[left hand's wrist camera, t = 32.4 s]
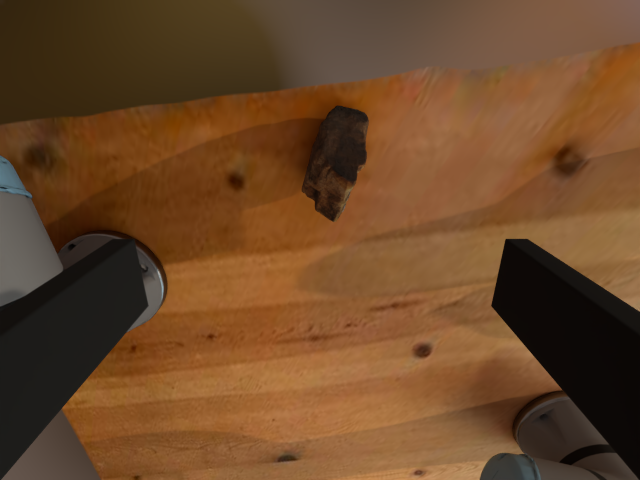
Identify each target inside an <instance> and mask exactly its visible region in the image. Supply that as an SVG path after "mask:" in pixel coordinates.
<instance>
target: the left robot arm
mask: <svg viewBox="0 0 640 480" xmlns="http://www.w3.org/2000/svg"><path fill="white" fill-rule="evenodd" d="M31 198H33V197H32V195H31V194H30V193H29V192H28V191H26V189H25V187H24V186H23V184H22V182H21V180H20V178H19V177H18V175H17V173H16V171H15V169H14V167H13V166H12V164H11V163H10V162H9V161H8V160H7V159H5V158H4V157H2V156H0V480H1V479H2V478H3V477H4V475H5V474H6V473H7V472H8V471H9V470H10V469H11V467H12V466H13V465H14V464H15V463H16V461H17V460H18V459H19V458H20V457H21V456H22V454H23V453H24V452H25V451H26V450H27V448H28V447H29V446H30V445H31V444H32V443H33V441H34V440H35V439H36V438H37V437H38V435H39V434H40V433H41V432H42V431H43V430H44V429H45V427H46V426H47V425H48V424H49V423H50V421H51V420H52V419H53V418H54V417H55V416H56V414H57V413H58V412H59V411H60V410H61V409H62V407H63V406H64V405H65V404H66V403H67V401H68V400H69V399H70V398H71V397H72V396H73V394H74V393H75V392H76V391H77V390H78V389H79V387H80V386H81V385H82V384H83V383H84V381H85V380H86V379H87V378H88V377H89V376H90V374H91V373H92V372H93V371H94V370H95V369H96V367H97V366H98V365H99V364H100V363H101V361H102V360H103V359H104V358H105V357H106V356H107V354H108V353H109V352H110V351H111V350H112V349H113V347H114V346H115V345H116V344H117V343H118V341H119V340H120V339H121V338H122V337H123V336H124V334H125V333H126V332H128V331H130V330H132V329H133V328H135V327H137V326H140V325H142V324H143V323H145V322H147V321H148V320H150V319H151V318H152V317H153V316H154V315H155V314H156V312H157V311H158V310H159V308H160V307H161V306H162V304H163V302H164V300H165V298H166V294H167V279H166V275H165V271H164V269H163V267H162V265H161V263H160V262H159V260H158V259H157V257H156V256H155V255H154V254H153V253H152V252H151V250H149V249H148V248H147V247H146V246H145V245H143V244H142V243H141V242H139V241H138V240H136V239H134V238H132V237H130V236H127V235H125V234H122V233H118V232H113V231H93V232H89V233H86V234H83V235H81V236H79V237H77V238H75V239H74V240H72V241H70V242H69V243H67V244H66V245H65V246H64V247H63V248H62V249H61V250H60V251H59V253H58V254H57V253H56V251H55V249H54V246H53V244H52V242H51V240H50V238H49V236H48V234H47V232H46V229H45V227H44V225H43V223H42V221H41V219H40V217H39V215H38V213H37V210H36V208H35V206H34V204H33V202H32V200H31ZM491 306H492V307H493V309H494V310H495V311H496V312H497V313H498V314H499V316H500V317H501V318H502V319H503V320H504V321H505V323H506V324H507V325H508V326H509V327H510V329H511V330H512V331H513V332H514V333H515V334H516V336H517V337H518V338H519V339H520V340H521V341H522V343H523V344H524V345H525V346H526V347H527V349H528V350H529V351H530V352H531V353H532V354H533V356H534V357H535V358H536V359H537V360H538V361H539V363H540V364H541V365H542V366H543V367H544V369H545V370H546V371H547V372H548V373H549V374H550V376H551V377H552V378H553V379H554V380H555V381H556V383H557V384H558V385H559V386H560V387H561V389H562V390H563V391H564V392H565V393H566V394H567V396H568V397H569V398H570V399H571V400H572V401H573V403H574V404H575V405H576V406H577V407H578V409H579V410H580V411H581V412H582V413H583V414H584V416H585V417H586V418H587V419H588V420H589V421H590V423H591V424H592V425H593V426H594V427H595V429H596V430H597V431H598V432H599V433H600V434H601V436H602V437H603V438H604V439H605V440H606V441H607V443H608V444H609V445H610V446H611V447H612V449H613V450H614V451H615V452H616V453H617V454H618V456H619V457H620V458H621V459H622V460H623V461H624V463H625V464H626V465H627V466H628V467H629V469H630V470H631V471H632V472H633V473H634V474H635V476H636V477H637V478H638V479H639V480H640V312H639V311H638V310H636V309H635V308H633V307H631V306H630V305H628V304H627V303H625V302H624V301H622V300H621V299H619V298H618V297H616V296H614V295H613V294H611V293H610V292H608V291H607V290H605V289H604V288H602V287H601V286H599V285H598V284H596V283H594V282H593V281H591V280H590V279H588V278H587V277H585V276H584V275H582V274H581V273H579V272H578V271H576V270H574V269H573V268H571V267H570V266H568V265H567V264H565V263H564V262H562V261H561V260H559V259H557V258H556V257H554V256H553V255H551V254H550V253H548V252H547V251H545V250H544V249H542V248H541V247H539V246H537V245H536V244H534V243H533V242H531V241H530V240H528V239H506V240H505V245H504V249H503V254H502V259H501V263H500V268H499V273H498V277H497V282H496V287H495V291H494V296H493V301H492V305H491Z"/></svg>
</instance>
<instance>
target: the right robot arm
mask: <svg viewBox="0 0 640 480" xmlns="http://www.w3.org/2000/svg"><path fill="white" fill-rule="evenodd" d="M513 435H514V438H515V440H516V441H517V443H518V445H519V447H520V448H521V450H522V451H523V452H524V453H525V454H519V455H516V454H510V453H500V454H497V455H495V456H493V457H492V458H491V459H490V460H489V461H488V462H487V463H486V465H485V467H484V469H483V471H482V474H481V477H480V480H639V479H638V478H637V477H636V476H635V474H634V473H633V472H632V471H631V470H630V469H629V467H628V466H627V465H626V464H625V463H624V461H623V460H622V459H621V458H620V457H619V456H618V454H617V453H616V452H615V451H614V450H613V449H612V447H611V446H610V445H609V444H608V443H607V441H606V440H605V439H604V438H603V437H602V436H601V434H600V433H599V432H598V431H597V430H596V429H595V427H594V426H593V425H592V424H591V423H590V421H589V420H588V419H587V418H586V417H585V416H584V414H583V413H582V412H581V411H580V410H579V409H578V407H577V406H576V405H575V404H574V403H573V401H572V400H571V399H570V398H569V397H568V396H567V394H566V393H565V392H564V391H560V392H554V393H550V394H547V395H544V396H542V397H539V398H537V399H536V400H534V401H532V402H531V403H529V404H528V405H527V406H526V407H524V408H523V409H522V410H521V412H520V413H519V414H518V416H517V417H516V419H515V422H514V425H513Z"/></svg>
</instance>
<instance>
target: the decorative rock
mask: <svg viewBox="0 0 640 480" xmlns="http://www.w3.org/2000/svg"><path fill="white" fill-rule="evenodd" d="M368 124H369V120H368V117H367V115H366V114H365V113H363V112H361V111H359V110H356V109H351V108H347V107H343V106H336V107H335V108H334V109H332V110H331V112H329V114H328V115H327V117H326V119H325V120H324V121H323V122H322V123H321V125H320V128H319V132H318V135H317V138H316V141H315V142H314V145H313V147H312V152H311V156H310V160H309V164H308V167H307V171H306V175H305V179H304V182H303V186H302V192H303V193H305V194H306V195H307V197H309V198H311V199H313V200H314V201H315V210H316V211H317V212H320V213H321V214H322V215H324V216H325V217H326V218H328V219H329V220H331V221H333V222H335V221H337V220H338V218H339V216H340V215H341V213H342V212H343V211H344V208H345V205H346V201H347V200H348V198H349V195H350V191H351V190H352V189H353V187H354V185H355V184H356V180H357V173H358V172H359V171H360V170H361V169H362V168H364V167H365V163H366V159H367V152H366V149H365V148H366V134H367V128H368Z"/></svg>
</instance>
